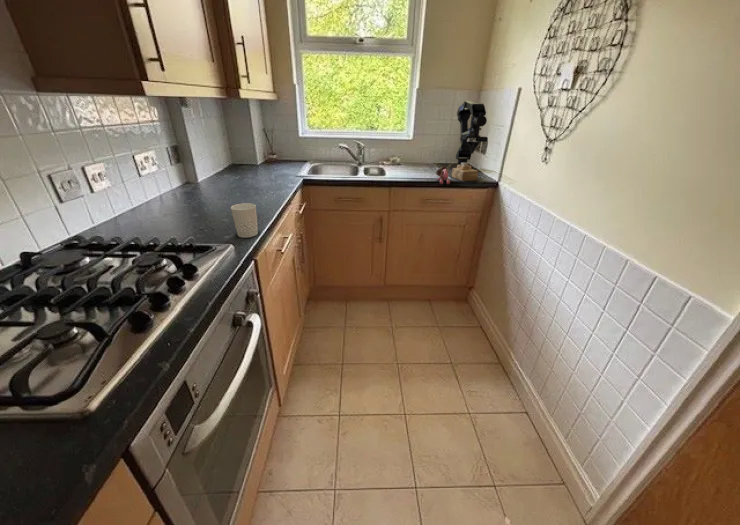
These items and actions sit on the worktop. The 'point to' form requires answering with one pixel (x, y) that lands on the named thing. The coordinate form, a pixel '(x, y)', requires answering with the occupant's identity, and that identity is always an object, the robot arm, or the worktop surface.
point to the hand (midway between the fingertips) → (471, 153)
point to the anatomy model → (443, 174)
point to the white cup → (245, 219)
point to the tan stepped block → (464, 173)
